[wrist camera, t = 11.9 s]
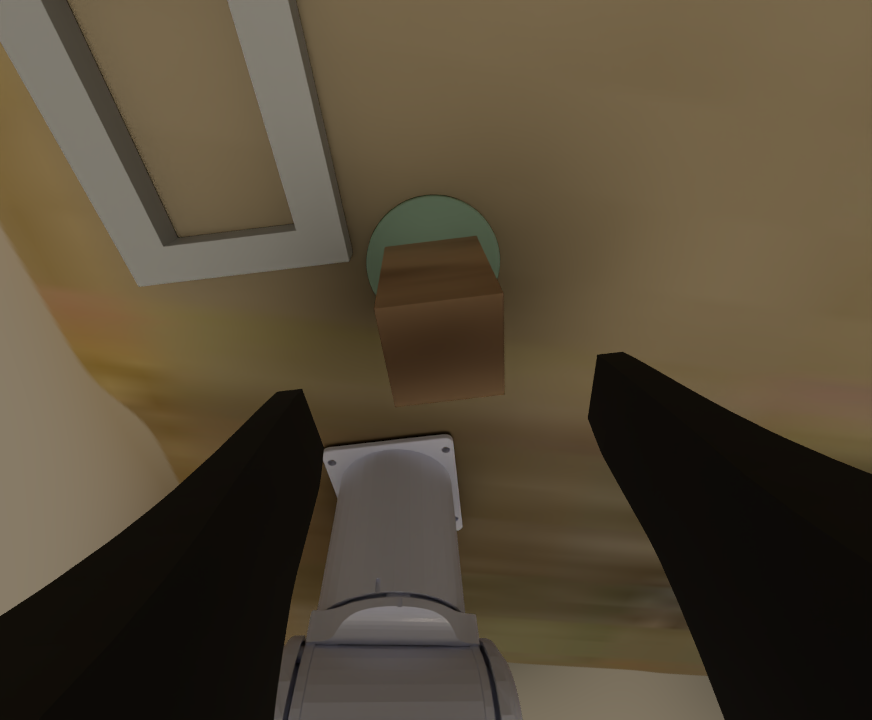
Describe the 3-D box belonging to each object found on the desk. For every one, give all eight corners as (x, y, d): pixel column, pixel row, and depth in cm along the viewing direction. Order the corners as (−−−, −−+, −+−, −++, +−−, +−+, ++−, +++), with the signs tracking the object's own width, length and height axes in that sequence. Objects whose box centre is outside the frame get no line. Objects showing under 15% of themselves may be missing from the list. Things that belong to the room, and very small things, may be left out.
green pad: (499, 314, 20) (500, 318, 19) (380, 328, 20) (379, 332, 19) (497, 186, 16) (499, 188, 16) (354, 203, 16) (352, 206, 16)
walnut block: (480, 317, 19) (504, 394, 14) (399, 326, 19) (395, 407, 14) (476, 235, 17) (503, 292, 12) (384, 246, 17) (373, 308, 12)
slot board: (352, 252, 18) (349, 261, 17) (154, 275, 18) (138, 286, 17) (256, -174, 11) (240, -201, 10) (-62, -130, 11) (-110, -153, 10)
